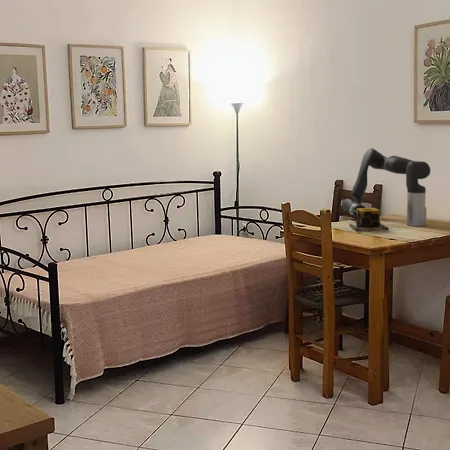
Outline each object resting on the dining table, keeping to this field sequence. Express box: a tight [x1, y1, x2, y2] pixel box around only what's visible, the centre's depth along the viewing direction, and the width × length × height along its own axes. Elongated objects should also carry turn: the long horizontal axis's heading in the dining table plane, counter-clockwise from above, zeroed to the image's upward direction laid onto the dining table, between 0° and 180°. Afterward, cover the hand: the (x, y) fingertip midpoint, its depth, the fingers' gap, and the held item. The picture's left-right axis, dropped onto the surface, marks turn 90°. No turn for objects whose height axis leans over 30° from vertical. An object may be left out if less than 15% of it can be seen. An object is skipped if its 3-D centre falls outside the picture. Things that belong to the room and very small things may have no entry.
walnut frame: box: [348, 222, 389, 232], centre depth 358 cm, size 16×15×2 cm
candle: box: [355, 207, 381, 228], centre depth 358 cm, size 10×10×10 cm
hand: (365, 215), depth 363 cm, fingers closed
